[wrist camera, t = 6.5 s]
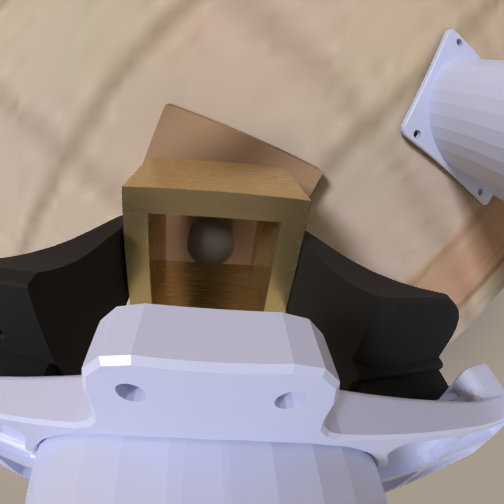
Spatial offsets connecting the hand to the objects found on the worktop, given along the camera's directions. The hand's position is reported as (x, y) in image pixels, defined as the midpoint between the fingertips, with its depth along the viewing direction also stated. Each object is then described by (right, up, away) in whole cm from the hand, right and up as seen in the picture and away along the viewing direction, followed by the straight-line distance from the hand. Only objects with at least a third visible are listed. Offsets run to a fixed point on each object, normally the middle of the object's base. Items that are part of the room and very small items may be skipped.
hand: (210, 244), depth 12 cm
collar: (0, +1, +2) cm, 2 cm away
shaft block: (0, +2, +4) cm, 4 cm away
